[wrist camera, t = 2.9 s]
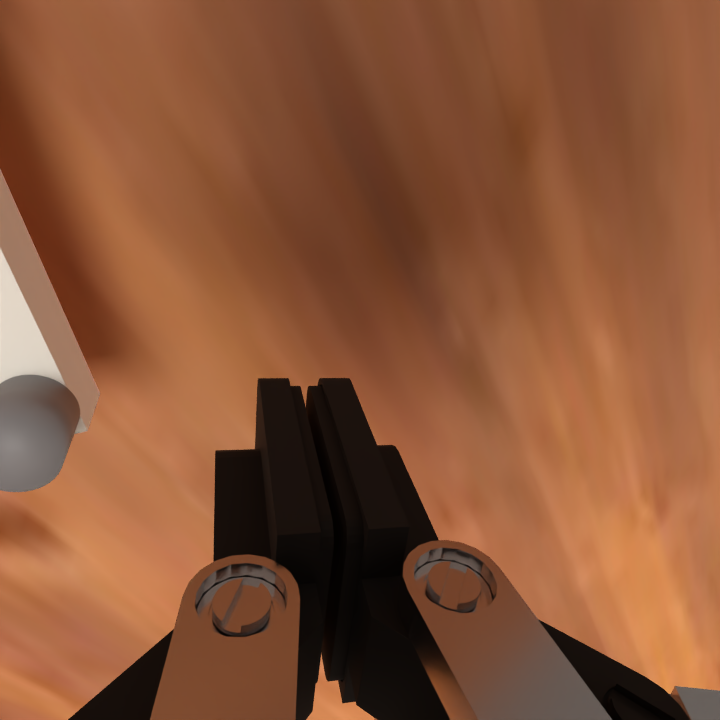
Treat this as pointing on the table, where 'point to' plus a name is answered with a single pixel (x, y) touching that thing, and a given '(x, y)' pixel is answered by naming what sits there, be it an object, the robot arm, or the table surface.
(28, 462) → the tongs moving jaw
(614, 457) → the table surface
